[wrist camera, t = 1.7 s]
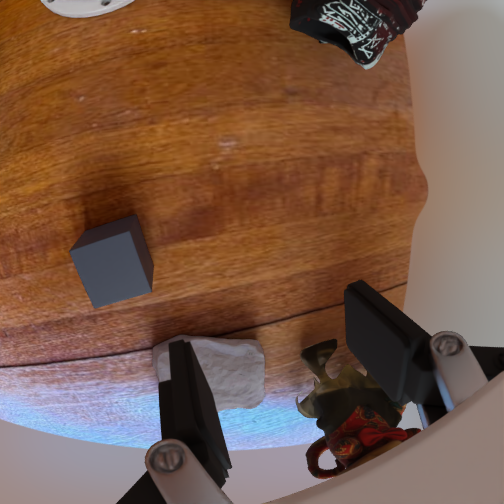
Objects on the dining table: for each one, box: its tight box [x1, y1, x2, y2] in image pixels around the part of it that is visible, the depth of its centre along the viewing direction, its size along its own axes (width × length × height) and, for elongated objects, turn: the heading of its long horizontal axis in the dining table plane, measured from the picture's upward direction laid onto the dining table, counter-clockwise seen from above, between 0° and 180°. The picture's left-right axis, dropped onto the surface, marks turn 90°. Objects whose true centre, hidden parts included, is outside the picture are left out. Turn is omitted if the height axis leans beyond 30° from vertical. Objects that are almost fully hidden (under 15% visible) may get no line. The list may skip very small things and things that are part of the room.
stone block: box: [152, 335, 266, 412], centre depth 31 cm, size 12×5×10 cm
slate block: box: [69, 214, 154, 308], centre depth 23 cm, size 5×5×5 cm
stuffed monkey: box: [295, 339, 421, 479], centre depth 27 cm, size 15×17×25 cm
